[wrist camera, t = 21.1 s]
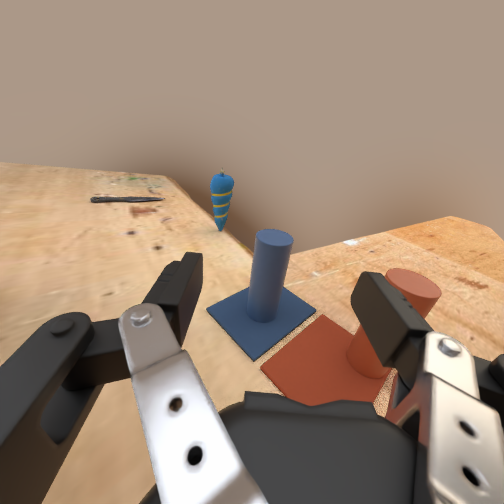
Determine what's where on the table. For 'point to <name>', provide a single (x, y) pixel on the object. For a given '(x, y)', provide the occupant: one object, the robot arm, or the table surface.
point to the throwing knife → (123, 199)
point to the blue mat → (256, 333)
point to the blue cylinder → (268, 273)
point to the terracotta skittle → (422, 299)
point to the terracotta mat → (320, 367)
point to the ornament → (221, 197)
